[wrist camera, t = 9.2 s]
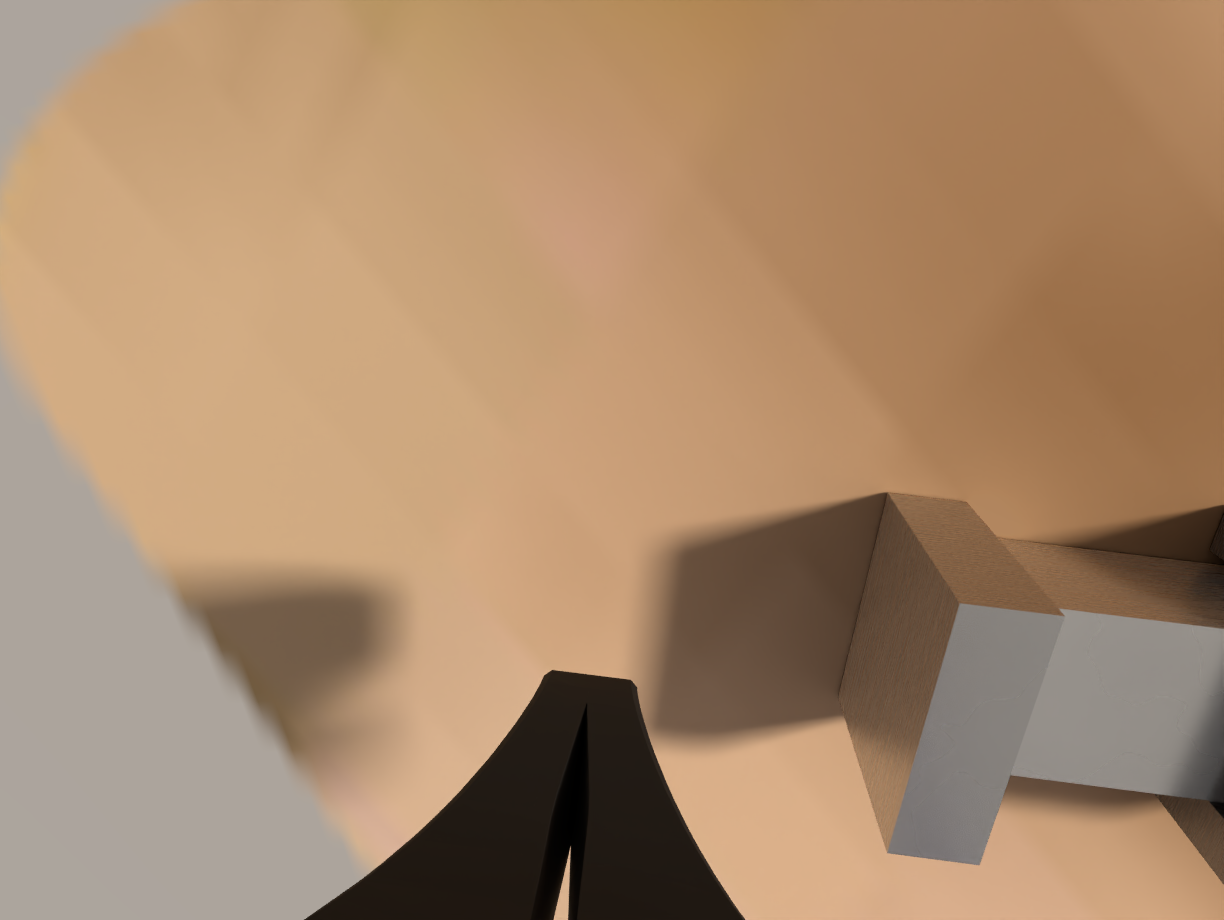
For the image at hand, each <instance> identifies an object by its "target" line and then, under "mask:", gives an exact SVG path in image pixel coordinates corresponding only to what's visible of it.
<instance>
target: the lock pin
mask: <svg viewBox="0 0 1224 920" xmlns="http://www.w3.org/2000/svg"><path fill="white" fill-rule="evenodd" d="M838 698H839V702H840V705H841V708H842V711H843V714H844V718H845V721H846V724H847V727H848V730H849V733H850V737H851V740H852V743H853V746H854V749H855V753H856V756H857V759H858V762H859V765H860V768H861V772H862V775H863V778H864V781H865V784H866V788H867V791H868V794H869V797H870V800H871V803H872V807H873V810H874V813H875V816H876V819H877V823H878V826H879V829H880V832H881V835H882V838H883V842H884V845H885V848H886V851H887V853H890V854H898V855H905V856H913V857H921V858H928V859H936V860H944V861H951V862H959V863H967V864H974V865H980V862H981V859H982V856H983V853H984V850H985V847H986V844H987V842H988V839H989V836H990V833H991V830H992V827H993V824H994V821H995V818H996V815H997V813H998V810H999V807H1000V804H1001V801H1002V798H1003V795H1004V792H1005V789H1006V786H1007V784H1008V781H1009V778H1010V775H1013V776H1021V777H1028V778H1036V779H1044V780H1052V781H1060V782H1067V783H1075V784H1083V785H1091V786H1099V787H1106V788H1114V789H1122V790H1130V791H1138V792H1146V793H1153V794H1161V795H1169V796H1177V797H1185V798H1192V799H1200V800H1208V801H1216V802H1224V566H1223V565H1215V564H1207V563H1199V562H1190V561H1182V560H1174V559H1166V558H1157V557H1149V556H1141V555H1133V554H1125V553H1116V552H1108V551H1100V550H1092V549H1083V548H1075V547H1067V546H1059V545H1051V544H1042V543H1034V542H1026V541H1018V540H1009V539H1001V538H997V537H996V535H995V534H994V533H993V532H992V531H991V530H990V528H989V527H988V526H987V525H986V524H985V523H984V521H983V520H982V519H981V518H980V517H979V516H978V515H977V513H976V512H975V511H974V510H973V509H972V508H971V506H970V505H969V504H968V503H967V502H962V501H953V500H945V499H937V498H928V497H920V496H912V495H904V494H895V493H887V497H886V502H885V506H884V510H883V514H882V518H881V522H880V526H879V530H878V535H877V539H876V543H875V547H874V551H873V555H872V559H871V563H870V568H869V572H868V576H867V580H866V584H865V588H864V592H863V596H862V601H861V605H860V609H859V613H858V617H857V621H856V625H855V629H854V634H853V638H852V642H851V646H850V650H849V654H848V658H847V662H846V667H845V671H844V675H843V679H842V683H841V687H840V691H839V695H838Z"/></svg>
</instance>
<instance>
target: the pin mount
mask: <svg viewBox="0 0 1224 920" xmlns="http://www.w3.org/2000/svg"><path fill="white" fill-rule="evenodd" d="M1210 551H1211V552H1213V553H1214V554H1215V555H1217V556H1218V557H1220V558H1221V559H1222V560H1224V515H1223V517H1222V520H1221V522H1220V525H1219V527H1218V530H1217V532H1216V535H1215V537H1214V540H1213V542H1212V545H1211V547H1210ZM1155 795H1156V796H1157V798H1158V799H1159V800H1160V802H1161V803H1162V804H1163V805H1164V807H1165V808H1166V809H1167V811H1168V812H1169V813H1170V815H1171V816H1172V817H1173V819H1174V820H1175V821H1176V823H1177V824H1178V825H1179V826H1180V828H1181V829H1182V830H1183V832H1184V833H1185V834H1186V836H1187V837H1188V838H1189V840H1190V841H1191V842H1192V844H1193V845H1194V846H1195V847H1196V849H1197V850H1198V851H1199V853H1200V854H1201V855H1202V857H1203V858H1204V859H1205V861H1206V862H1207V863H1208V865H1209V866H1210V867H1211V868H1212V870H1213V871H1214V872H1215V874H1216V875H1217V876H1218V878H1219V879H1220V880H1221V882H1222V883H1223V884H1224V802H1216V801H1208V800H1200V799H1192V798H1185V797H1177V796H1169V795H1161V794H1155Z"/></svg>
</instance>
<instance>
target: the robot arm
mask: <svg viewBox="0 0 1224 920" xmlns="http://www.w3.org/2000/svg"><path fill="white" fill-rule="evenodd" d="M570 846H571V857H570V884H569V913H568V920H745V919H744V917H743V916H742V915H741V913H740V912H739V911H738V909H737V908H736V906H735V905H734V903H733V902H732V900H731V899H730V897H729V896H728V894H727V893H726V891H725V890H724V888H723V887H722V885H721V884H720V882H719V881H718V879H717V878H716V876H715V874H714V873H713V871H712V869H711V868H710V866H709V864H708V863H707V861H706V859H705V858H704V856H703V854H702V853H701V851H700V849H699V847H698V846H697V844H696V842H695V840H694V838H693V836H692V835H691V833H690V831H689V829H688V827H687V825H686V823H685V821H684V819H683V817H682V815H681V813H680V811H679V809H678V807H677V805H676V803H675V801H674V799H673V796H672V794H671V792H670V790H669V787H668V785H667V783H666V780H665V778H664V775H663V773H662V771H661V768H660V766H659V763H658V761H657V758H656V756H655V753H654V750H653V748H652V745H651V742H650V739H649V736H648V733H647V730H646V727H645V723H644V720H643V716H642V713H641V708H640V704H639V699H638V693H637V687H636V686H635V684H634V683H633V682H632V681H631V680H627V679H619V678H611V677H603V676H595V675H587V674H579V673H571V672H563V671H555V670H552V671H550V672H549V673H547V674H546V675H544V677H543V679H542V682H541V684H540V686H539V687H538V689H537V691H536V693H535V695H534V696H533V698H532V700H531V701H530V703H529V704H528V706H527V707H526V709H525V710H524V712H523V713H522V715H521V716H520V718H519V719H518V721H517V722H516V724H515V725H514V726H513V728H512V729H511V730H510V732H509V733H508V734H507V736H506V737H505V738H504V739H503V741H502V742H501V743H500V745H499V746H498V747H497V749H496V750H495V751H494V753H493V754H492V755H491V756H490V758H489V759H488V760H487V761H486V762H485V763H484V765H483V766H482V767H481V768H480V769H479V770H478V771H477V773H476V774H475V775H474V776H473V777H472V778H471V779H470V781H469V782H468V783H467V784H466V785H465V786H464V787H463V789H462V790H461V791H460V792H459V793H458V794H457V795H456V796H455V797H454V798H453V799H452V800H451V801H450V802H449V803H448V804H447V805H446V806H445V807H444V808H443V809H442V810H441V811H440V812H439V813H438V814H437V815H436V816H435V817H434V818H433V819H432V820H431V821H430V822H429V823H428V824H427V825H426V826H425V827H424V828H423V829H421V830H420V831H419V832H418V833H417V834H416V835H415V836H414V837H413V838H411V839H410V840H409V841H408V842H407V843H406V844H404V845H403V846H402V847H401V848H400V849H399V850H397V851H396V852H395V853H394V854H393V855H391V856H390V857H389V858H388V859H387V860H386V861H384V862H383V863H382V864H381V865H379V866H378V867H377V868H376V869H374V870H373V871H372V872H371V873H369V874H368V875H367V876H365V877H364V878H363V879H362V880H360V881H359V882H357V883H356V884H355V885H353V886H352V887H350V888H349V889H347V890H346V891H345V892H343V893H342V894H340V895H339V896H338V897H336V898H335V899H333V900H332V901H330V902H329V903H328V904H326V905H325V906H323V907H322V908H320V909H319V910H317V911H316V912H315V913H313V914H312V915H310V916H309V917H307V918H306V919H304V920H553V919H554V915H555V910H556V906H557V902H558V898H559V893H560V889H561V885H562V881H563V876H564V872H565V868H566V863H567V859H568V855H569V850H570Z"/></svg>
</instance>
